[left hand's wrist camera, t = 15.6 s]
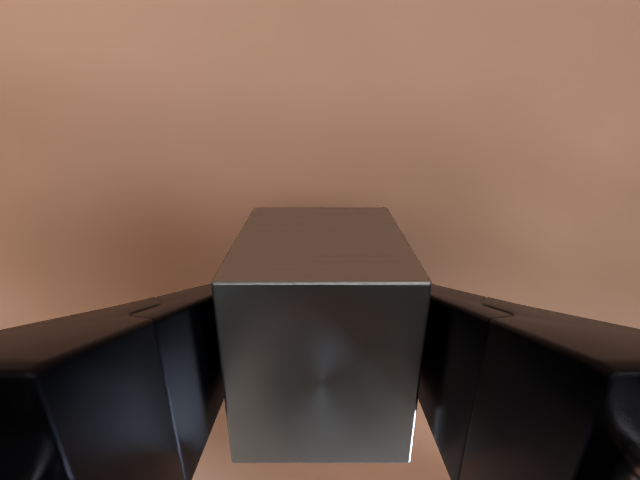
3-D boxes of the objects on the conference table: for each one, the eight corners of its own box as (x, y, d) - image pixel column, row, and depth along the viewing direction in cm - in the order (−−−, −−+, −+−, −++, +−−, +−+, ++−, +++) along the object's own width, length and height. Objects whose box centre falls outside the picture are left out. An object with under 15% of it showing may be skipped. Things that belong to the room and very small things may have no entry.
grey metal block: (253, 207, 11) (208, 281, 7) (387, 207, 11) (433, 282, 7) (262, 334, 13) (231, 464, 8) (378, 334, 13) (410, 464, 8)
